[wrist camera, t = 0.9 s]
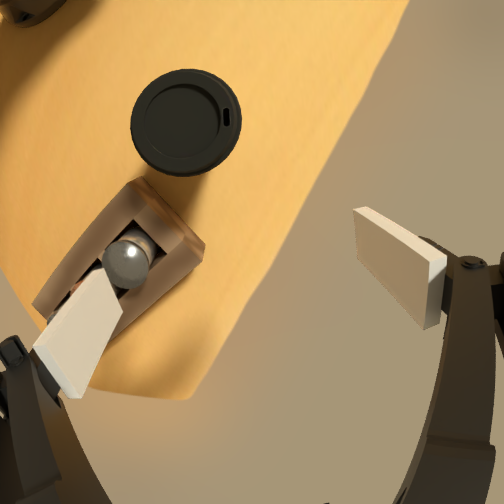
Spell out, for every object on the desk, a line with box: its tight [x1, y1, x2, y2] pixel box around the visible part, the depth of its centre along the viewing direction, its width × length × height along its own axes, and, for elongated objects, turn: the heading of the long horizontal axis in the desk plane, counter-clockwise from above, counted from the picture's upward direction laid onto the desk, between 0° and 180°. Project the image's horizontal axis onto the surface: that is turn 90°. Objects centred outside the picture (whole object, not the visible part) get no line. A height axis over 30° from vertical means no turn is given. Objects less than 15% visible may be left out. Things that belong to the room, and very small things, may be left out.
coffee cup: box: [130, 69, 242, 177], centre depth 29 cm, size 10×10×15 cm
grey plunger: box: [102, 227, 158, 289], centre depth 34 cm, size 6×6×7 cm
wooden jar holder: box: [32, 176, 205, 344], centre depth 39 cm, size 13×26×6 cm, turn 130°
